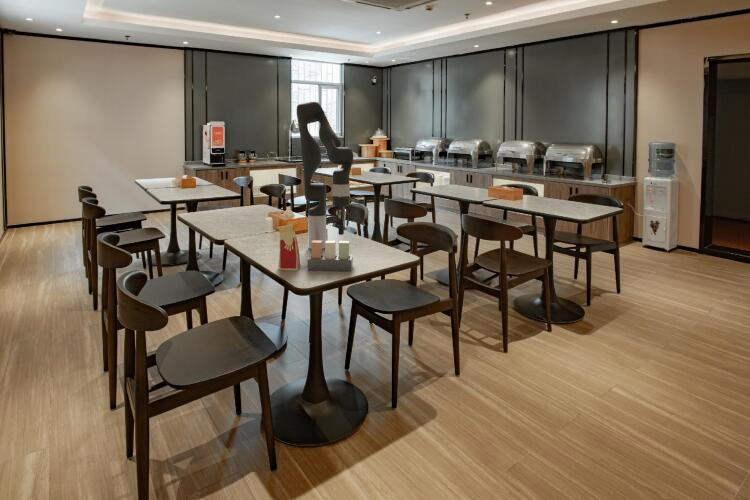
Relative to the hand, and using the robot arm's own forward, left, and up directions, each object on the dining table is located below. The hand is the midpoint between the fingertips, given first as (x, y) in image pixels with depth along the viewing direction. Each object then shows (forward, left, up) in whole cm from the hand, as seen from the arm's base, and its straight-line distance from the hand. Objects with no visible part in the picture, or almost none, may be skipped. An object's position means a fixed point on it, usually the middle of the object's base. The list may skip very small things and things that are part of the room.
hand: (341, 234), depth 222 cm
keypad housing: (+3, -4, -15) cm, 16 cm away
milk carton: (+14, -19, -16) cm, 28 cm away
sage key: (-1, +1, -11) cm, 11 cm away
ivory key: (+3, -4, -11) cm, 12 cm away
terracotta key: (+6, -9, -11) cm, 15 cm away
